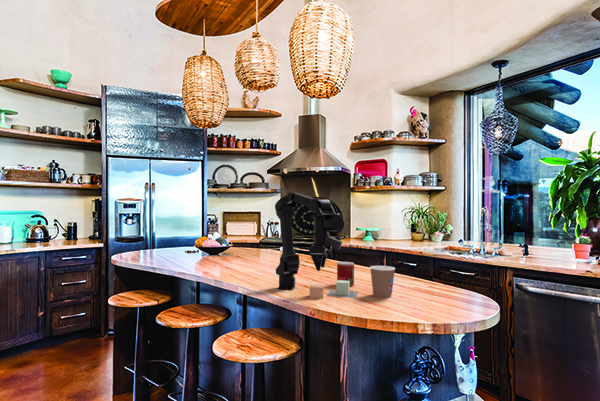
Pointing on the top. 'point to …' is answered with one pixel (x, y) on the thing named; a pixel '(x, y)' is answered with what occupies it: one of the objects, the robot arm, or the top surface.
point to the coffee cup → (382, 280)
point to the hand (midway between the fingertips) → (320, 269)
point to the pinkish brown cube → (316, 291)
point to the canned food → (345, 272)
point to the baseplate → (351, 295)
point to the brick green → (342, 287)
